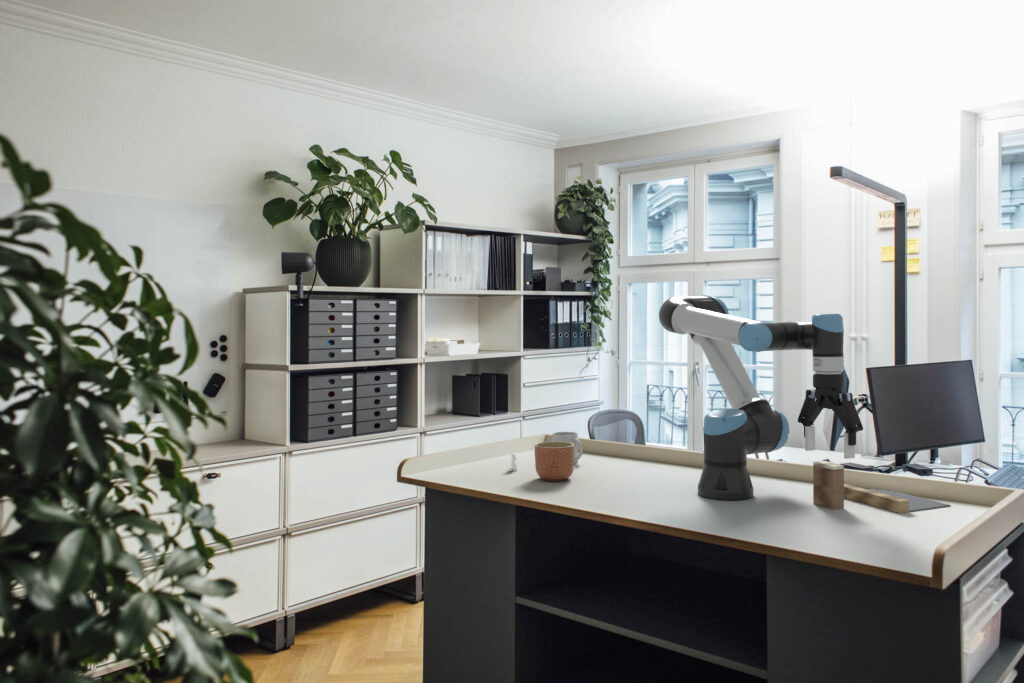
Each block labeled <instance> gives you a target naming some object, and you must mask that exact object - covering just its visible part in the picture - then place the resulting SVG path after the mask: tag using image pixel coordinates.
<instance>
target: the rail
mask: <svg viewBox="0 0 1024 683" xmlns="http://www.w3.org/2000/svg"><path fill="white" fill-rule="evenodd" d="M844 499H847V500H850V501H855V502H859V503H862V504H865V505H869V506H872V507H877V508H879V509H883V510H887V511H891V512H894V513H898V514H904V513H905V514H906V513H909V500H906V499H902V498H898V497H894V496H890V495H887V494H883V493H879V492H875V491H871V490H867V489H866V488H863V487H859V486H855V485H851V484H847V483H844Z"/></svg>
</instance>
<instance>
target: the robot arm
mask: <svg viewBox="0 0 1024 683" xmlns="http://www.w3.org/2000/svg"><path fill="white" fill-rule="evenodd" d="M658 319H659V323H660V324H661V326H662V327H663V329H665V331H668V332H670V333H674V334H679V335H687V334H689V336H690V338H691V340H692V342H693V343H694V344H695V345H698V346H701V349H702V352H703V354H704V355H705V357H706V359H707V361H708V363H709V364H710V367H711V369H712V372H713V373H714V375H715V377H716V379H717V381H718V382H719V385H720V388H721V389H722V391H723V394H724V395H725V397H726V399H727V401H728V403H729V405H730V407H731V408H728V409H717V410H714V411H711V412H709V413H707V414H706V415H705V416H704V418H703V426H702V432H703V468H702V471H701V475H700V478H699V481H698V484H697V494H698V495H699V496H701V497H704V498H707V499H714V500H721V501H722V500H723V501H739V500H746V499H751V498H752V497H754V495H755V494H754V485H753V482H752V479H751V476H750V473H749V471H748V465H747V464H748V463H747V461H748V460H747V459H748V457H747V455H755V454H762V453H767V454H768V453H771V452H775V451H777V450H780V449H782V448H783V447H784V446H785V445H786V444H787V442H788V440H789V434H790V424H789V421H788V418H787V416H786V415H785V414H784V413H783V412H781V411H778V410H777V409H773V408H772V406H771V405H770V402H769V400H768V399H766V398H762V397H760V395H759V393H758V391H757V389H756V388H755V386H754V384H753V382H752V380H751V377H750V376H749V374H748V372H747V370H746V368H745V367H744V364H743V363H742V361H741V359H740V357H739V355H738V353H737V351H736V350H735V347H734V345H736V346H740V347H742V349H744V350H745V351H746V352H755V353H761V352H770V351H771V352H773V351H795V350H803V351H804V350H809V351H812V371H813V372H815V373H813V375H812V387H813V388H815V389H806V390H805V398H804V401H803V404H802V407H801V409H800V411H799V415H798V417H797V423H799V424H802V425H803V426H802V427H803V437H804V440H805V442H804V444H805V445H804V446H805V451H806V452H809V451H816V426H815V424H814V423H815V421H816V419H817V418H818V417H819V415H820V414H821V412H822V411H823V410H824V409H827V410H831V411H833V412H834V413H835V415H836V417H837V418H838V420H839V421H840V423H841V424H842V426H843V428H844V430H845V431H844V432H843V458H844V459H855V457H856V455H855V454H856V453H855V446H856V445H857V433H858V432H860V431H863V430H864V426H863V424H862V421H861V419H860V416H859V413H858V411H857V409H856V406H855V402H854V397H853V396H854V395H853V393H852V392H843V391H842V390H843V388H844V387H845V375H844V374H843V372H844V371H845V364H844V363H845V360H844V358H845V357H844V336H845V335H844V332H845V328H844V320H843V319H844V318H843V316H842V314H840V313H820V314H819V313H816V314H815V313H814V314H813V315H812V317H811V321H783V322H782V321H780V322H779V321H777V322H764V321H758V320H753V319H750V318H749V319H748V318H745V317H739V316H735V315H730V314H729V309H728V306H727V304H726V303H724V301H723V300H722V299H720V298H718V297H716V296H711V295H705V294H704V295H700V296H699V295H698V296H697V295H696V296H693V295H689V296H688V295H676V296H672V297H669V298H668V299H667V300H665V301H664V302H663V303H662V304H661V306H660V308H659V310H658Z"/></svg>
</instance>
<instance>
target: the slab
mask: <svg viewBox="0 0 1024 683" xmlns="http://www.w3.org/2000/svg"><path fill="white" fill-rule="evenodd" d="M812 465H813V468H812V472H813V474H812V476H813V479H812V480H813V481H812V483H813V486H812V487H813V488H812V489H813V490H812V491H813V493H812V494H813V497H812V498H813V500H812V501H813V503H812V504H813V505H815V506H819V507H822V508H826V509H829V510H833V511H834V510H835V511H836V509H837V510H842V509H843V508H844V509H845V506H844V505H845V498H844V484H845V483H844V482H845V469H844V468H845V466H844V465H843V464H838V463H835V462H830V461H827V460H826V461H825V460H818V461H813V462H812Z"/></svg>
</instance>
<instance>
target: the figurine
mask: <svg viewBox="0 0 1024 683" xmlns="http://www.w3.org/2000/svg"><path fill="white" fill-rule="evenodd" d="M516 460H517V455H516V453H511V459H510V465H511V467H510V468H507V469H506V472H508V473H509V472H517V471H518V465H517V462H516Z"/></svg>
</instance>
